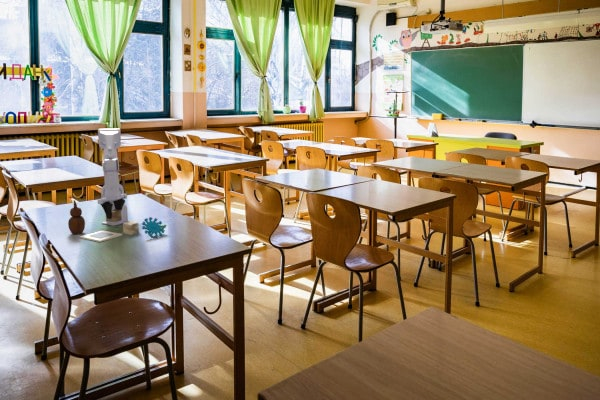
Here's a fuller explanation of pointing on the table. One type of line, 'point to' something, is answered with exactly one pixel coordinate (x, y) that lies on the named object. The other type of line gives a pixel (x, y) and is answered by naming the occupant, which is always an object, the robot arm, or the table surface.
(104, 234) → the board
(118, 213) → the walnut block
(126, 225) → the birch block
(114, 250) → the table surface
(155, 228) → the teal virus model
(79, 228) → the brown gourd
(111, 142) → the robot arm
